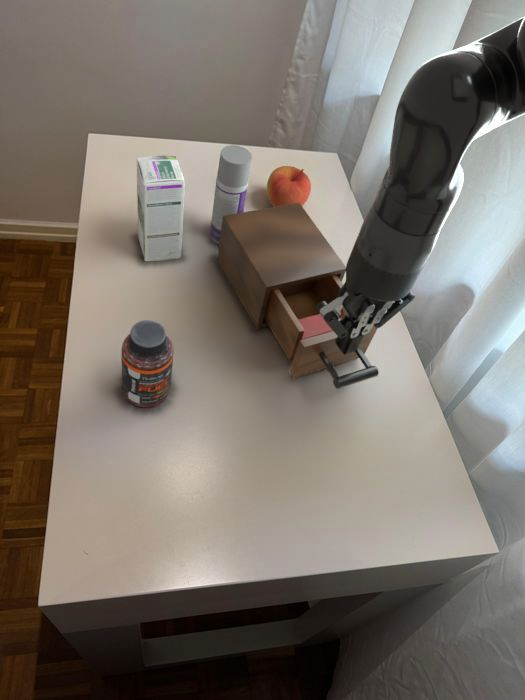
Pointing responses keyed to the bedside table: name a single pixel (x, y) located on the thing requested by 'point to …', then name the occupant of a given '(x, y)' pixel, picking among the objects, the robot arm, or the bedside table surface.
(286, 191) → the apple
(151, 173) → the syrup box
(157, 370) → the supplement bottle
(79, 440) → the bedside table surface
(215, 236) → the container
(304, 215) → the cabinet
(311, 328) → the red rectangular brick
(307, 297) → the drawer
